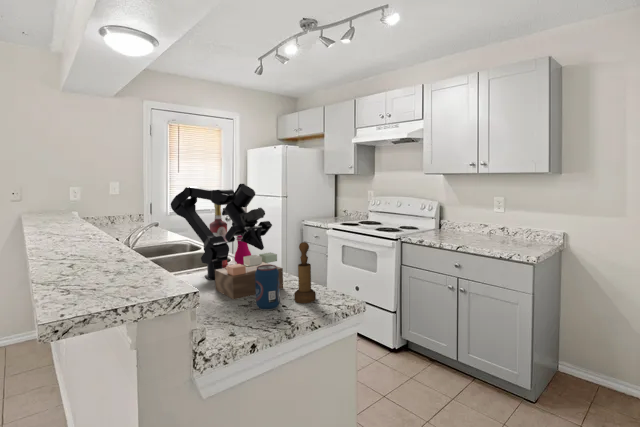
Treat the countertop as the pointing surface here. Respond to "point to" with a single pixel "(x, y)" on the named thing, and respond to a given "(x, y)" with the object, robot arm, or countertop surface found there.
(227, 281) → the keypad console
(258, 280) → the soda can
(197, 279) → the countertop surface
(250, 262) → the cream key
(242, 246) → the pepper mill
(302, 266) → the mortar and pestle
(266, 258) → the sage key
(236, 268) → the terracotta key
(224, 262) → the liquor
